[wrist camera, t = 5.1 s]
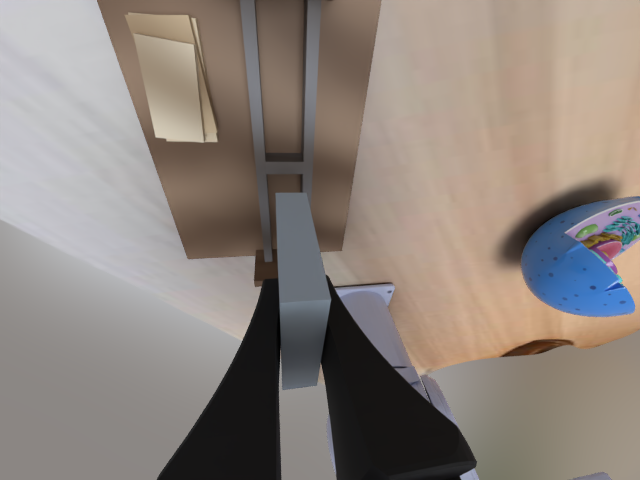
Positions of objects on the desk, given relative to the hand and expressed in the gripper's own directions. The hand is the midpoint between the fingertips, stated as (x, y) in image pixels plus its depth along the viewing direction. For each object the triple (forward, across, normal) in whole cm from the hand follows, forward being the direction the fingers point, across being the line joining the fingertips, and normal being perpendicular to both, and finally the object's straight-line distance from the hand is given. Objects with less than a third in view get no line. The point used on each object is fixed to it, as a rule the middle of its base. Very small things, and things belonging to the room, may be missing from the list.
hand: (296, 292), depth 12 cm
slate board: (+4, 0, 0) cm, 4 cm away
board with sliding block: (+10, +2, -2) cm, 11 cm away
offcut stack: (+9, +5, -6) cm, 12 cm away
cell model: (+11, -28, +5) cm, 30 cm away
